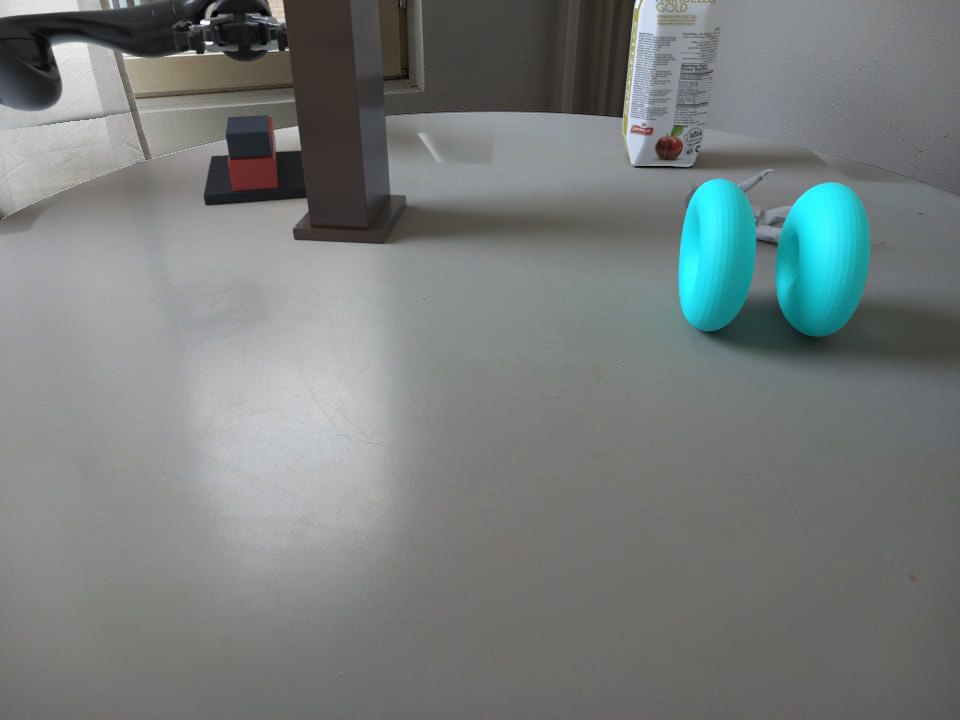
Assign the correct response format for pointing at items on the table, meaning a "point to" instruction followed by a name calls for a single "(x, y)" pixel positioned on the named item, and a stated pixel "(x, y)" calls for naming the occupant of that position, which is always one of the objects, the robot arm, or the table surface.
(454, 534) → the table surface
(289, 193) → the mat
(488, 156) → the table surface
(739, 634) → the table surface
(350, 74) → the plinth
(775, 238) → the soldier figure
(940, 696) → the table surface
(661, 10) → the juice carton
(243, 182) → the blue-red two-tone block
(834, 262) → the donuts
